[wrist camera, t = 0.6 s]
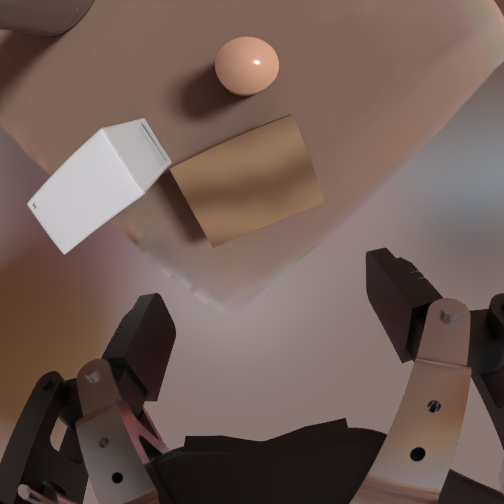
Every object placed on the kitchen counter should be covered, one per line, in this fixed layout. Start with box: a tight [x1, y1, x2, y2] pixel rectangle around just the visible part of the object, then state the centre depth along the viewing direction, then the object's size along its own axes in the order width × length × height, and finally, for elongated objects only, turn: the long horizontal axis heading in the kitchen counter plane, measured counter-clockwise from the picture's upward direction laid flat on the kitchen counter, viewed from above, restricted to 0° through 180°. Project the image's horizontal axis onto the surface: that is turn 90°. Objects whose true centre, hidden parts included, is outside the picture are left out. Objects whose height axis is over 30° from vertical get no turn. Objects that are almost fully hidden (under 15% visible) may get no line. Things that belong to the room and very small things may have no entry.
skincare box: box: [28, 118, 172, 254], centre depth 23 cm, size 10×6×10 cm, turn 118°
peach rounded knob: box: [215, 37, 279, 96], centre depth 21 cm, size 5×5×6 cm
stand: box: [170, 114, 325, 247], centre depth 27 cm, size 9×12×4 cm
